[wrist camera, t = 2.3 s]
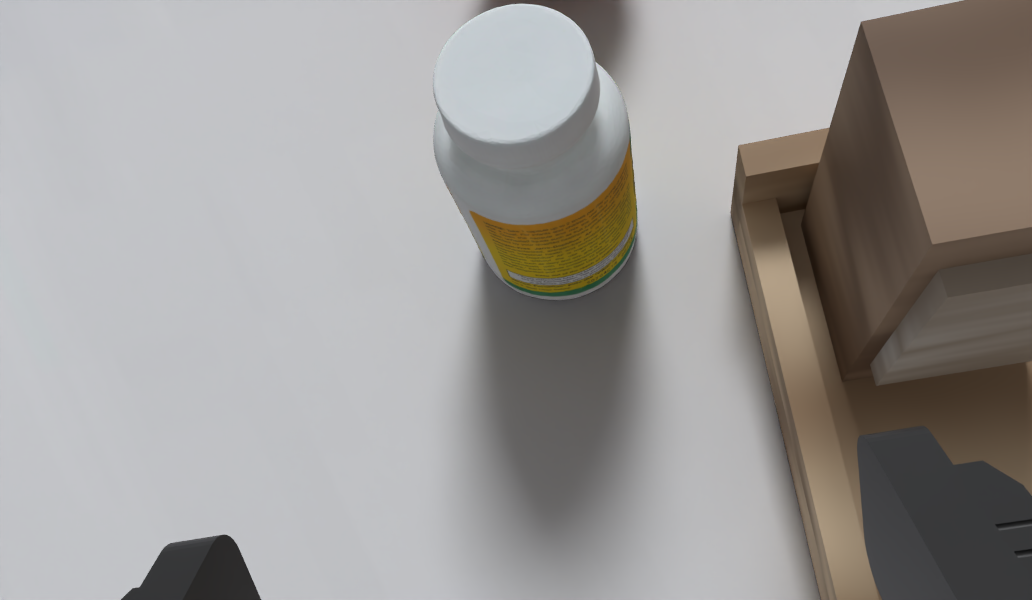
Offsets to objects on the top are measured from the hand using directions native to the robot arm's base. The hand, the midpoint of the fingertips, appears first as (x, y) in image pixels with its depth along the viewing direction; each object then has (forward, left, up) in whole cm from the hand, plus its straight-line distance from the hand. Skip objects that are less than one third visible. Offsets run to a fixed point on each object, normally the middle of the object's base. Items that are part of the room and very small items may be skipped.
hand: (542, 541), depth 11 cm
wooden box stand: (+9, -5, -16) cm, 19 cm away
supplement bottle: (+8, +8, -16) cm, 20 cm away
